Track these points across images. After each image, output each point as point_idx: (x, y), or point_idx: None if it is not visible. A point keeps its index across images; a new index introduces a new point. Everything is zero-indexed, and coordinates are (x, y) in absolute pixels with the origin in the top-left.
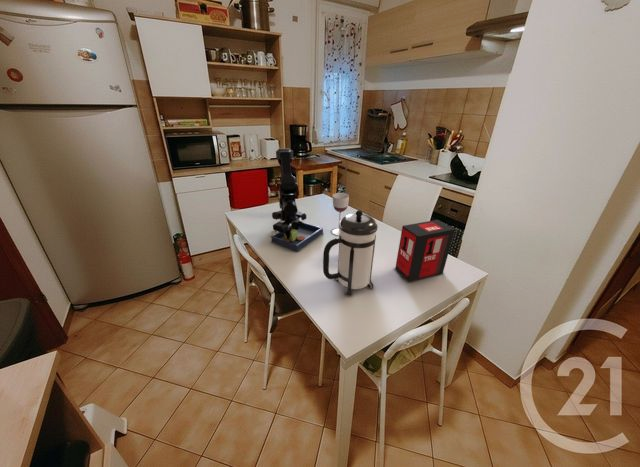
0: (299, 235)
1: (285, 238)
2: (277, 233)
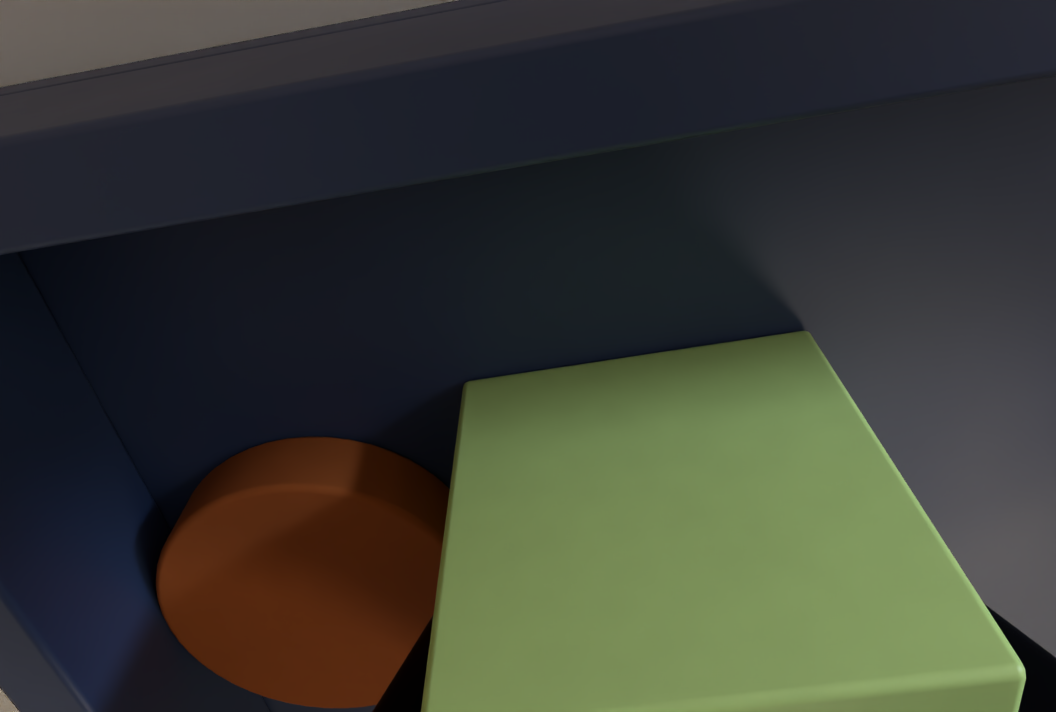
0: (1023, 544)
1: (410, 527)
2: (164, 186)
